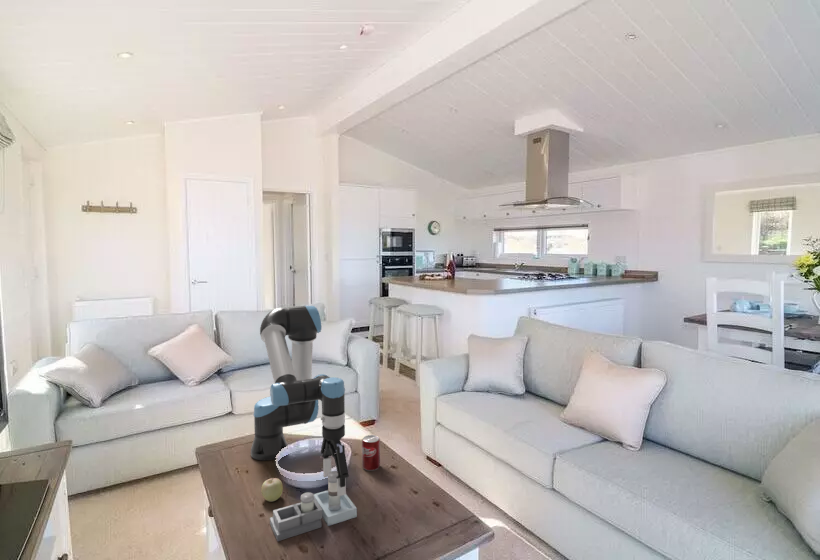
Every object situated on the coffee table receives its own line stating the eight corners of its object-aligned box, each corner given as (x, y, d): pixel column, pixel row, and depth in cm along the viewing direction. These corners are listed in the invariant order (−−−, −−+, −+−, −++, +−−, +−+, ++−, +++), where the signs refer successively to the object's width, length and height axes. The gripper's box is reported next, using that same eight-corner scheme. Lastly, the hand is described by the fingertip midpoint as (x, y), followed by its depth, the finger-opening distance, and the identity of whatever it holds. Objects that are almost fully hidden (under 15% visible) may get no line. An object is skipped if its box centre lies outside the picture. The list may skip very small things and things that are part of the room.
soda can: (373, 473, 178) (372, 444, 177) (358, 468, 182) (358, 439, 181) (383, 465, 185) (383, 437, 184) (369, 460, 188) (369, 433, 187)
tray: (313, 502, 159) (313, 494, 159) (340, 494, 164) (340, 486, 163) (328, 526, 146) (327, 517, 146) (356, 516, 151) (356, 508, 151)
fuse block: (269, 523, 147) (269, 497, 146) (313, 510, 154) (313, 485, 153) (277, 541, 138) (276, 514, 138) (323, 526, 146) (323, 500, 145)
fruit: (287, 497, 162) (287, 475, 161) (271, 507, 156) (270, 485, 155) (273, 490, 166) (272, 469, 165) (256, 500, 160) (256, 478, 159)
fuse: (326, 506, 156) (326, 472, 154) (338, 502, 158) (337, 469, 157) (330, 512, 152) (330, 478, 151) (342, 509, 154) (342, 475, 153)
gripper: (311, 414, 161) (312, 471, 163) (336, 441, 139) (336, 507, 141) (331, 410, 165) (332, 466, 167) (358, 436, 143) (359, 500, 145)
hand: (334, 485), depth 154 cm, fingers open, 13 cm apart
